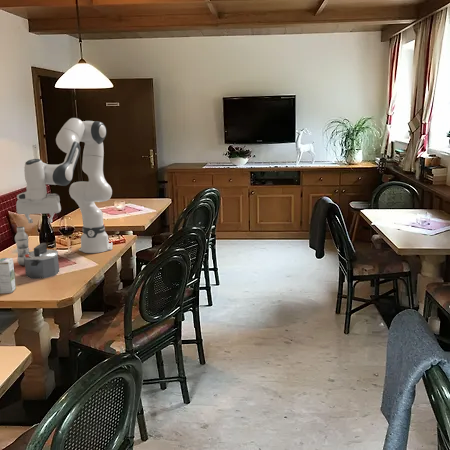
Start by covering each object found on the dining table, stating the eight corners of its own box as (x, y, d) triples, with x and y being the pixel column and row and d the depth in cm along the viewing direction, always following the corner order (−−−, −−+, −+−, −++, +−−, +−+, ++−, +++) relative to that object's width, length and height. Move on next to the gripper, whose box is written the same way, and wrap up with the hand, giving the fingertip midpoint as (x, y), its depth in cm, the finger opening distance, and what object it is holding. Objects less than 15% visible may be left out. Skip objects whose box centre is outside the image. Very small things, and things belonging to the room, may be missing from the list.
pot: (35, 268, 257) (34, 250, 255) (63, 267, 257) (62, 250, 255) (20, 281, 237) (17, 262, 235) (50, 280, 237) (48, 261, 235)
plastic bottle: (27, 267, 259) (22, 228, 255) (15, 266, 261) (10, 228, 256) (34, 263, 265) (30, 226, 261) (22, 262, 267) (18, 225, 262)
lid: (31, 254, 253) (29, 241, 252) (62, 253, 253) (61, 241, 252) (18, 263, 238) (17, 250, 237) (52, 262, 238) (50, 249, 236)
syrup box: (3, 289, 226) (-1, 258, 223) (16, 288, 227) (12, 257, 224) (-2, 293, 221) (-6, 261, 218) (12, 293, 221) (8, 261, 218)
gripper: (61, 192, 243) (64, 220, 246) (18, 193, 243) (22, 221, 246) (56, 194, 237) (60, 223, 240) (13, 195, 237) (17, 224, 240)
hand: (40, 222), depth 243 cm, fingers open, 8 cm apart
